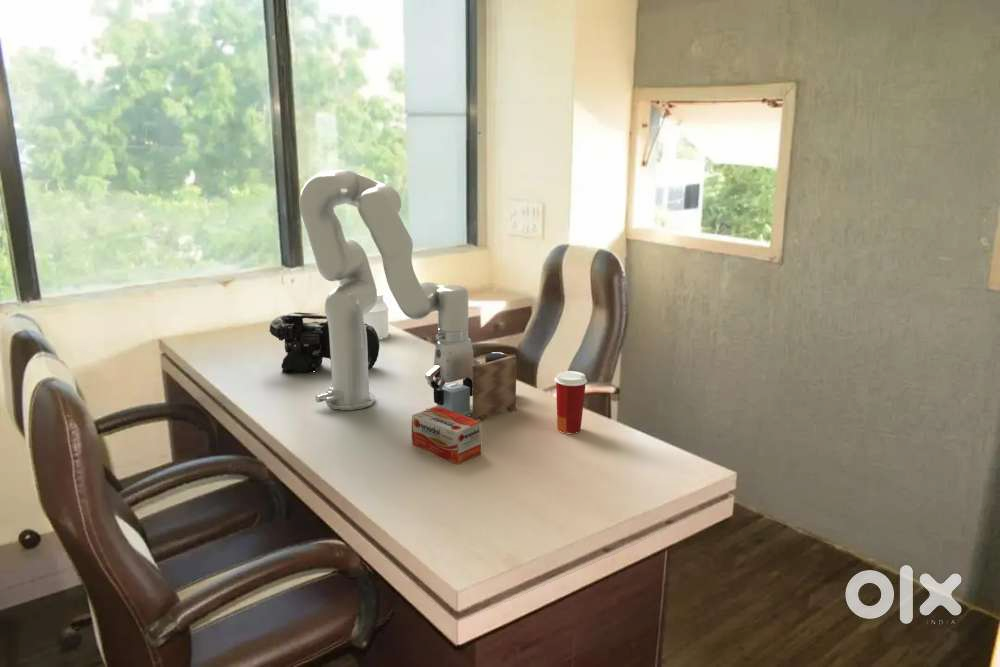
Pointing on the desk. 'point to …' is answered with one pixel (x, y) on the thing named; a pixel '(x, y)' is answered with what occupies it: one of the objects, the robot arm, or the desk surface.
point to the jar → (378, 317)
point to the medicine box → (446, 434)
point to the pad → (465, 413)
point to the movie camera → (311, 342)
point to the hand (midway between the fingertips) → (453, 399)
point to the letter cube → (456, 397)
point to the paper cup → (570, 400)
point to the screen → (494, 387)
